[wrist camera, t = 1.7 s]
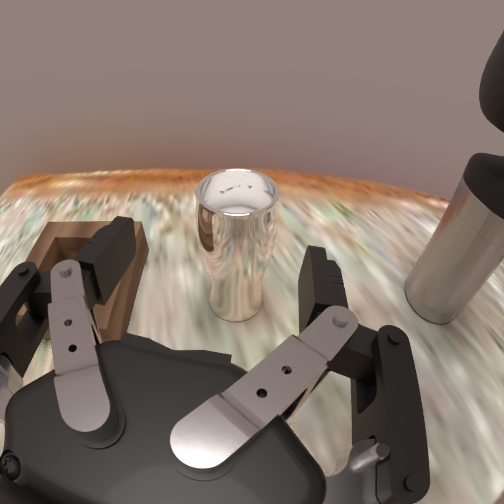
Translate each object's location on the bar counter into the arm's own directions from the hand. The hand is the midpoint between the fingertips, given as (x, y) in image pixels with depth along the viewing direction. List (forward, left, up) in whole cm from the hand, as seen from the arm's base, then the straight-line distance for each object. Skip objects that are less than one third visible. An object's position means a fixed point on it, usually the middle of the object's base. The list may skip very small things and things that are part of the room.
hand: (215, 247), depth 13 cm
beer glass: (-9, -5, -19) cm, 22 cm away
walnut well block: (+2, -21, -19) cm, 28 cm away
